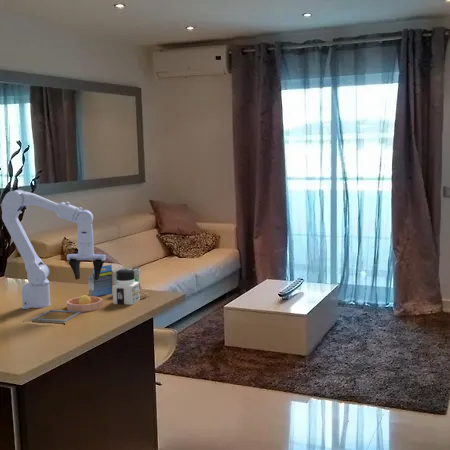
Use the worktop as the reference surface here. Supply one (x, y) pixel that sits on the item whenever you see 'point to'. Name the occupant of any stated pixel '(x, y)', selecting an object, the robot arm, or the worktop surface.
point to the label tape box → (101, 282)
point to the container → (126, 288)
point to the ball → (84, 300)
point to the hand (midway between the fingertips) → (87, 279)
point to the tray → (55, 320)
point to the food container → (136, 274)
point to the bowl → (94, 305)
